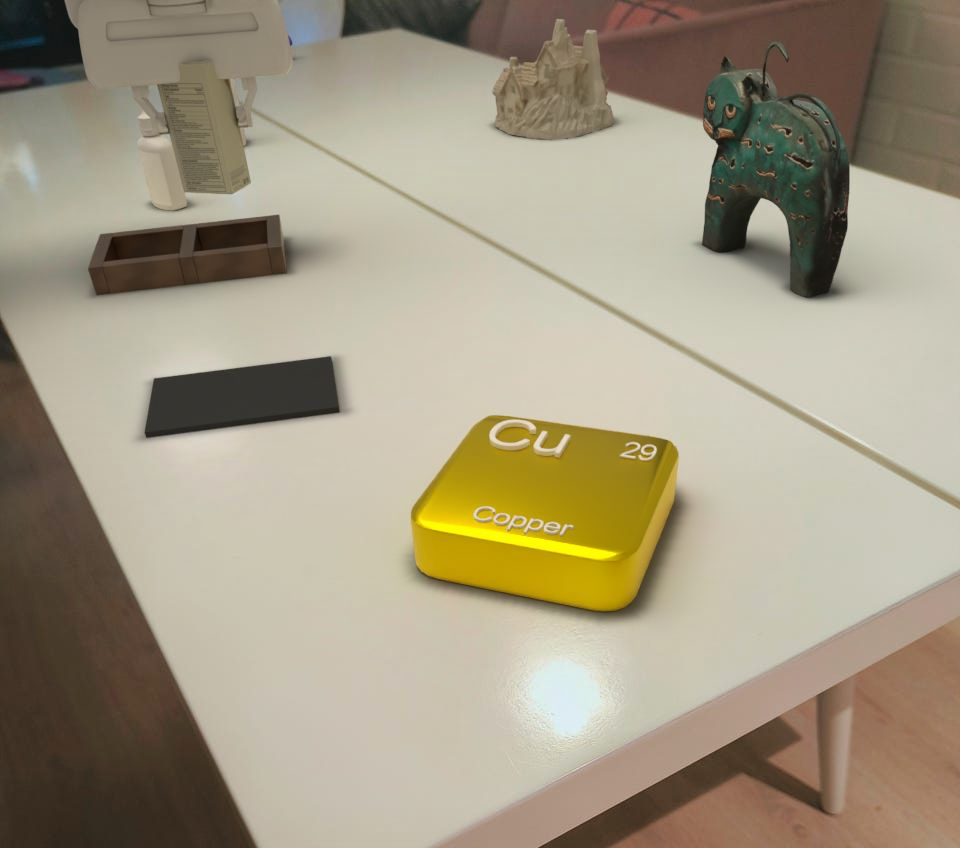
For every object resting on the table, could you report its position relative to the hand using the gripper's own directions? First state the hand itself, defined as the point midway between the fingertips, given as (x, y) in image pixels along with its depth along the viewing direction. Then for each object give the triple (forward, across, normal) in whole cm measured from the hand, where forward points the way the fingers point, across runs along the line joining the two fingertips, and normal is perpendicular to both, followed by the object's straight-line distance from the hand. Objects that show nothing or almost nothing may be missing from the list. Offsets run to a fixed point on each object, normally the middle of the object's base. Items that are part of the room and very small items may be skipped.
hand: (204, 130), depth 97 cm
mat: (+14, +2, -34) cm, 37 cm away
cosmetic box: (+6, 0, 0) cm, 6 cm away
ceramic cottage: (+13, +48, +44) cm, 67 cm away
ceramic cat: (+13, +56, -19) cm, 60 cm away
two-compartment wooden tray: (+14, -4, 0) cm, 14 cm away
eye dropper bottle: (+14, -8, +24) cm, 29 cm away
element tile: (+14, +22, -60) cm, 66 cm away
